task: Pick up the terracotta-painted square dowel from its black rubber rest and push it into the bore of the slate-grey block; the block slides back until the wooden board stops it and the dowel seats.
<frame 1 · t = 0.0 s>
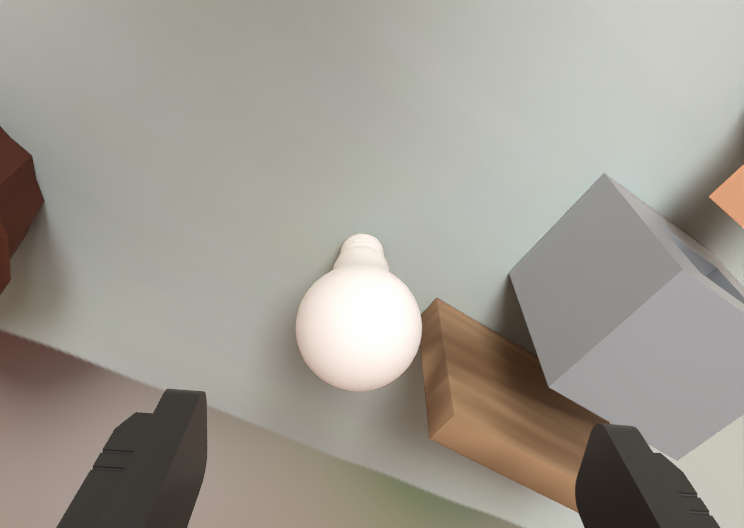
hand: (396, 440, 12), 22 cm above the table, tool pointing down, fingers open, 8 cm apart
block: (639, 311, 32), point 5 cm above the table, slide at 0.0 cm
wooden board: (510, 356, 40), on the table
lightbulb: (362, 243, 36), on the table
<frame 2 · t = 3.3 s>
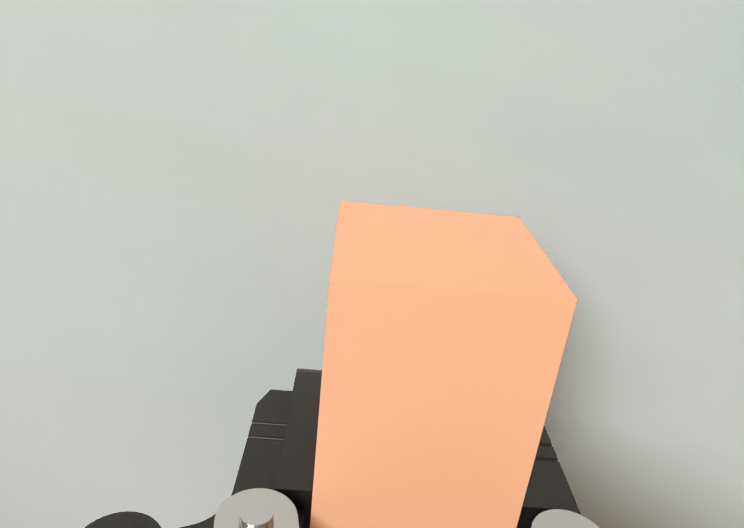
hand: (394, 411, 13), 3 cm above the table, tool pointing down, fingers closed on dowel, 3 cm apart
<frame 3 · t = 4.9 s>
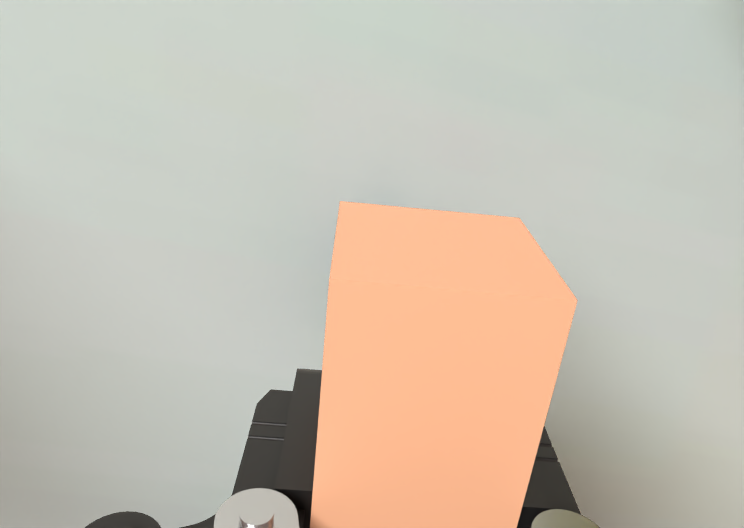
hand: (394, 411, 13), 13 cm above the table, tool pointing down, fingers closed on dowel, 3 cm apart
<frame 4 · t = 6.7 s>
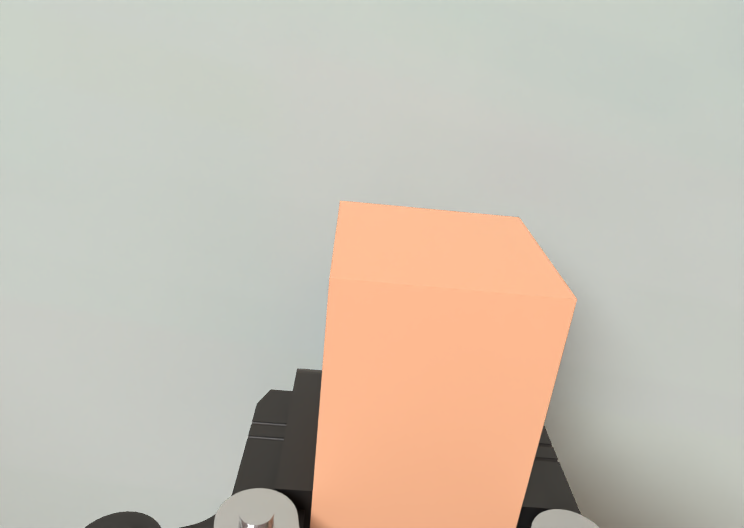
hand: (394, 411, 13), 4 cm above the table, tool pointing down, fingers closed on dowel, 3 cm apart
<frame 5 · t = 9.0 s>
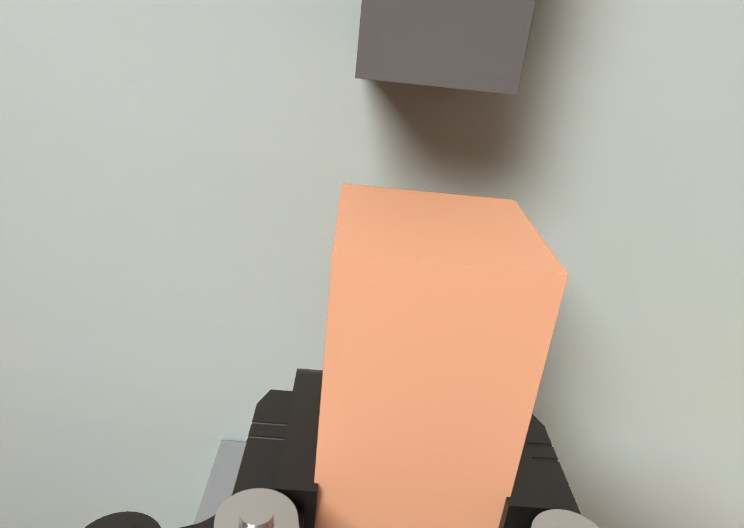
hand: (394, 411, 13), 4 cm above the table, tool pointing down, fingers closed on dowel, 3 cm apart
dowel: (382, 513, 14), point 4 cm above the table, touching block, gripper
when the fingers open (4 cm above the table, at t = 10.3 s): dowel stays where it is, resting on block.
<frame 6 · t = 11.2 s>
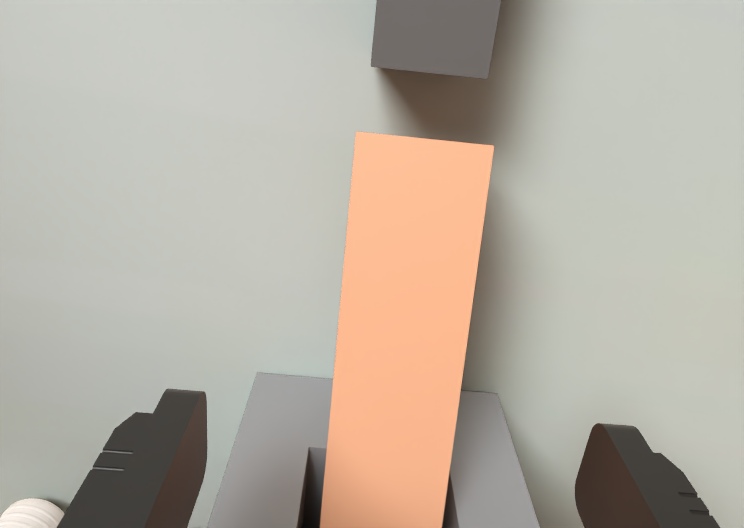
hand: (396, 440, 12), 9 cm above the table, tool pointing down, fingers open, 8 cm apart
dowel: (384, 402, 18), point 3 cm above the table, tilted 12°, touching block
lightbulb: (49, 503, 25), on the table
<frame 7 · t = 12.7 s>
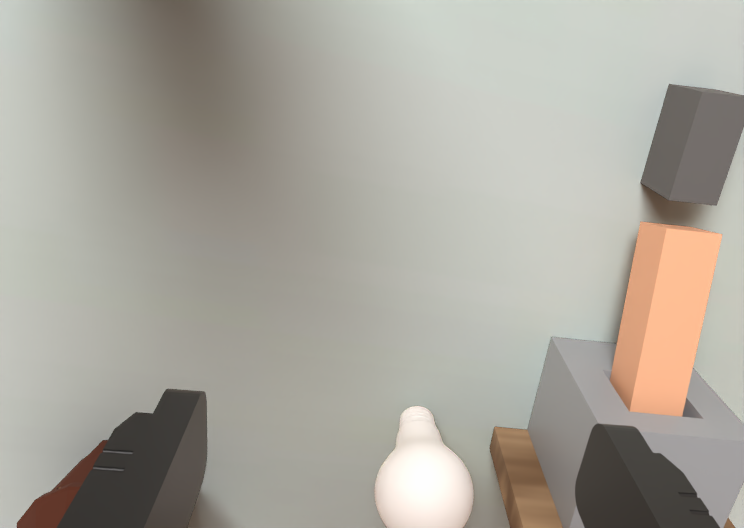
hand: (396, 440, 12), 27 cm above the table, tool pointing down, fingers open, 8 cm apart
dowel: (641, 348, 38), point 3 cm above the table, tilted 12°, touching block
muffin: (137, 479, 47), on the table
block: (626, 435, 39), point 5 cm above the table, slide at 4.0 cm, touching dowel
wooden board: (582, 446, 45), on the table
rest: (676, 137, 36), on the table
lightbulb: (415, 411, 45), on the table
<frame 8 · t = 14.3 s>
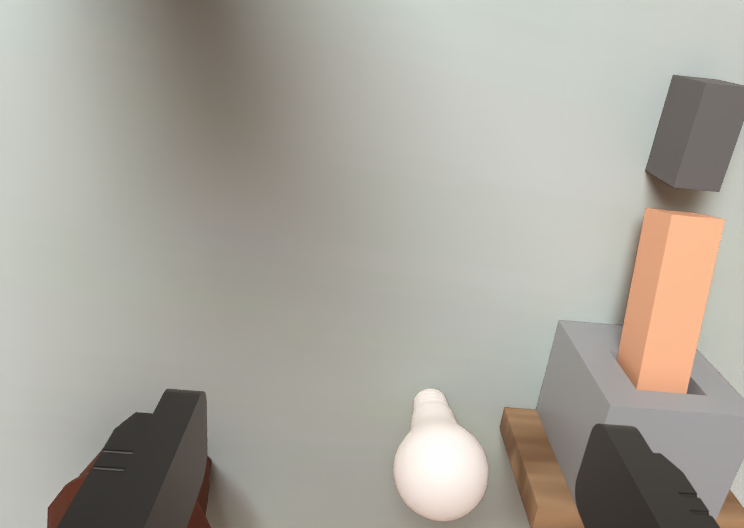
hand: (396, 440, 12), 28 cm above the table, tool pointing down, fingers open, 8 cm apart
dowel: (646, 329, 40), point 3 cm above the table, tilted 12°, touching block
muffin: (159, 464, 49), on the table
block: (632, 412, 41), point 5 cm above the table, slide at 4.0 cm, touching dowel
wooden board: (589, 424, 47), on the table
rest: (680, 126, 38), on the table
lightbulb: (428, 394, 46), on the table
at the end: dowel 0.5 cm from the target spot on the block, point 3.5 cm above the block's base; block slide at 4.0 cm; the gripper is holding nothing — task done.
